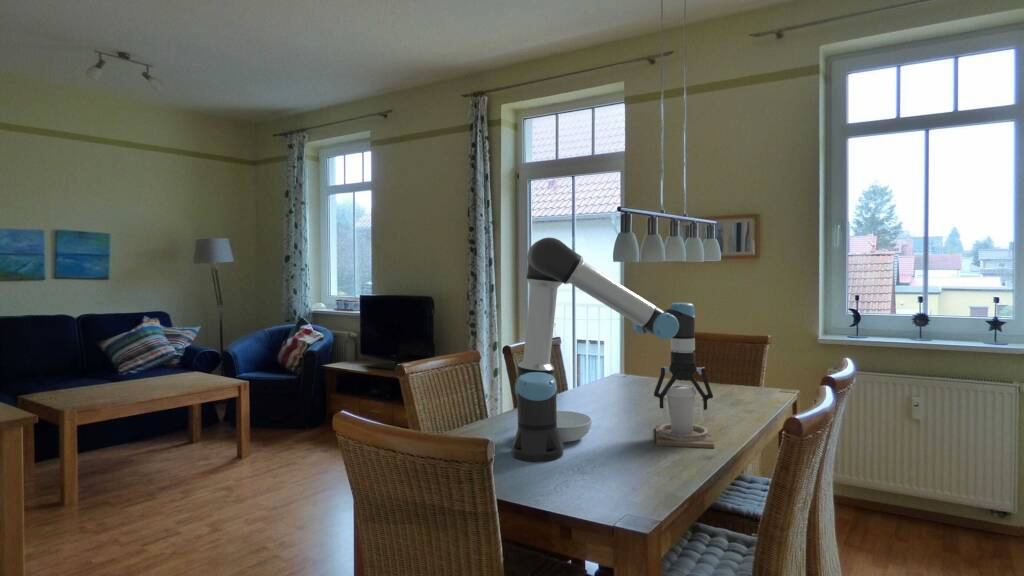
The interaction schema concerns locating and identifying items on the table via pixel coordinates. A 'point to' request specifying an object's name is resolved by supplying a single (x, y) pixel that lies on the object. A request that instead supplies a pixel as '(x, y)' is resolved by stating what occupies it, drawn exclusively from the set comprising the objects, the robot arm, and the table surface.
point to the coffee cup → (681, 408)
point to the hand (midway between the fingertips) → (683, 419)
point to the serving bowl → (572, 425)
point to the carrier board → (684, 437)
